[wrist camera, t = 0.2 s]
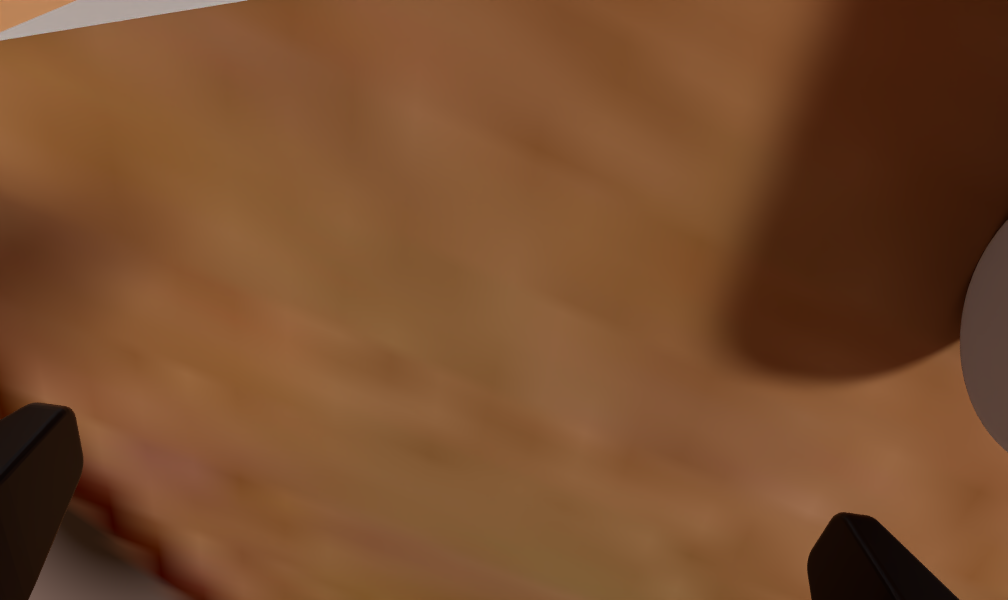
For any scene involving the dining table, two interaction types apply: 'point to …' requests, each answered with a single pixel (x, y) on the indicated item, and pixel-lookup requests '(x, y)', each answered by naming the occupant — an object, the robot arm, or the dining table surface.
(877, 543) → the robot arm
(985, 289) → the grey rounded panel
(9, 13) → the orange block
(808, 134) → the dining table surface
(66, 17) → the mat
